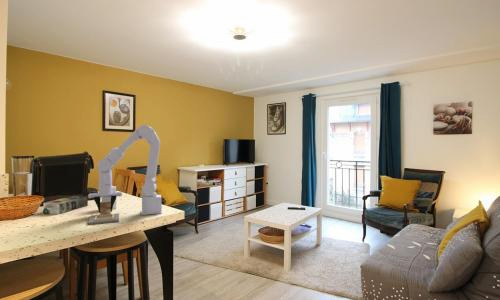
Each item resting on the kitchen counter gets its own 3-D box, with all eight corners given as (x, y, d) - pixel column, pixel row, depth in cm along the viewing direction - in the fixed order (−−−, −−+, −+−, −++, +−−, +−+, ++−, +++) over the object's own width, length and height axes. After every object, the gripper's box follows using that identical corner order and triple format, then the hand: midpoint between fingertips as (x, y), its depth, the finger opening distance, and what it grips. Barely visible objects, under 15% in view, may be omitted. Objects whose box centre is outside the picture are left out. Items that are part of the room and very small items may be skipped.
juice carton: (57, 215, 137) (57, 202, 137) (40, 214, 139) (40, 202, 139) (88, 206, 157) (88, 195, 157) (73, 205, 159) (73, 194, 159)
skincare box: (116, 208, 152) (116, 186, 151) (110, 210, 148) (110, 187, 147) (107, 207, 154) (107, 185, 153) (101, 209, 149) (101, 186, 149)
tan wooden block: (110, 213, 142) (110, 201, 142) (110, 215, 138) (110, 203, 138) (100, 213, 140) (100, 201, 140) (100, 216, 136) (100, 203, 136)
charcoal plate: (119, 215, 138) (119, 212, 138) (118, 222, 127) (118, 218, 127) (90, 217, 133) (90, 214, 133) (88, 224, 122) (87, 221, 122)
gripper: (121, 182, 145) (121, 208, 146) (89, 183, 139) (89, 211, 140) (121, 184, 139) (121, 211, 139) (87, 185, 133) (87, 214, 133)
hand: (105, 211), depth 139 cm, fingers closed on tan wooden block, 4 cm apart
